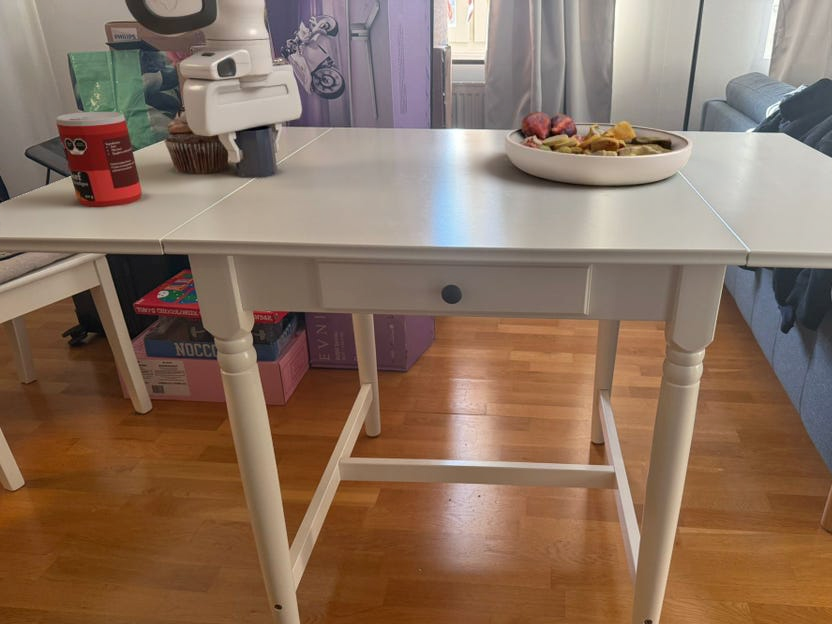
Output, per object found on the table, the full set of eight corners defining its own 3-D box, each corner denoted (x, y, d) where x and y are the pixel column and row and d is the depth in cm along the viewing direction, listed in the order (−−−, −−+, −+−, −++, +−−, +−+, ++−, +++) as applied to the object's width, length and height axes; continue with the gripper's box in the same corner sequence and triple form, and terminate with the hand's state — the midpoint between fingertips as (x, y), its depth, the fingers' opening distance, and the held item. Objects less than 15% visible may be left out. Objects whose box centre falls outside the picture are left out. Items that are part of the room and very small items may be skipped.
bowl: (714, 165, 114) (723, 117, 111) (638, 202, 93) (646, 144, 89) (562, 144, 130) (565, 101, 126) (467, 171, 109) (467, 120, 105)
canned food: (78, 197, 93) (55, 113, 88) (141, 190, 97) (123, 110, 91) (78, 211, 87) (53, 122, 82) (145, 203, 91) (125, 118, 85)
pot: (229, 175, 105) (222, 129, 102) (257, 168, 110) (251, 123, 107) (258, 180, 103) (251, 132, 99) (285, 172, 107) (279, 126, 104)
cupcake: (216, 160, 115) (205, 97, 110) (244, 169, 109) (234, 104, 104) (160, 168, 109) (146, 103, 104) (187, 179, 103) (173, 110, 98)
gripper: (275, 55, 108) (286, 144, 114) (168, 64, 92) (188, 167, 99) (305, 57, 105) (315, 147, 112) (201, 67, 89) (219, 172, 96)
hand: (255, 157), depth 105 cm, fingers closed on pot, 6 cm apart
